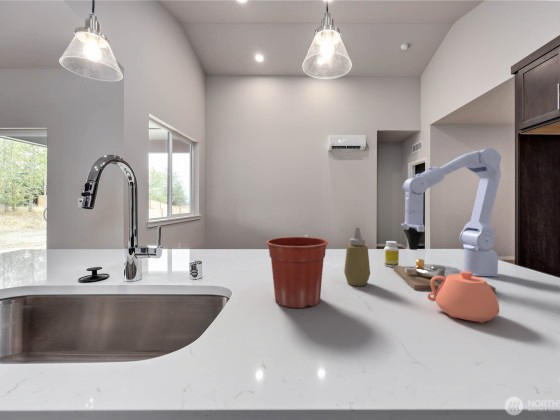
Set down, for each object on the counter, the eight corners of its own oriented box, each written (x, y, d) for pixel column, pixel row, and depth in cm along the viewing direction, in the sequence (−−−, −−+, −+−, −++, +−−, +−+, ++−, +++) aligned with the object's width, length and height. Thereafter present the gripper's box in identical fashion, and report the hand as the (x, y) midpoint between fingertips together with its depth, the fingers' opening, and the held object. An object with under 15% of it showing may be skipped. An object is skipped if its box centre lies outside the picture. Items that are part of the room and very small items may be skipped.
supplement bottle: (400, 267, 106) (401, 242, 105) (386, 267, 106) (387, 242, 105) (395, 264, 111) (395, 240, 111) (381, 264, 111) (382, 240, 111)
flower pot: (258, 294, 77) (258, 238, 76) (308, 286, 84) (308, 235, 83) (281, 317, 62) (281, 248, 61) (340, 306, 68) (341, 243, 68)
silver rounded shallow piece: (449, 268, 95) (450, 256, 95) (472, 280, 81) (472, 266, 81) (399, 266, 98) (399, 255, 97) (413, 278, 84) (413, 264, 84)
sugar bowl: (503, 332, 55) (505, 283, 54) (425, 317, 62) (426, 273, 62) (494, 311, 65) (495, 269, 65) (428, 299, 72) (429, 262, 72)
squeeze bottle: (371, 281, 88) (372, 226, 87) (368, 289, 81) (369, 229, 80) (346, 278, 92) (346, 226, 91) (341, 285, 84) (341, 228, 83)
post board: (456, 272, 99) (456, 257, 99) (495, 293, 77) (496, 274, 77) (393, 270, 102) (393, 255, 102) (414, 289, 80) (414, 271, 80)
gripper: (396, 210, 103) (395, 245, 104) (409, 212, 89) (408, 253, 90) (415, 210, 102) (414, 246, 103) (431, 212, 88) (430, 253, 89)
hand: (413, 249), depth 96 cm, fingers closed
